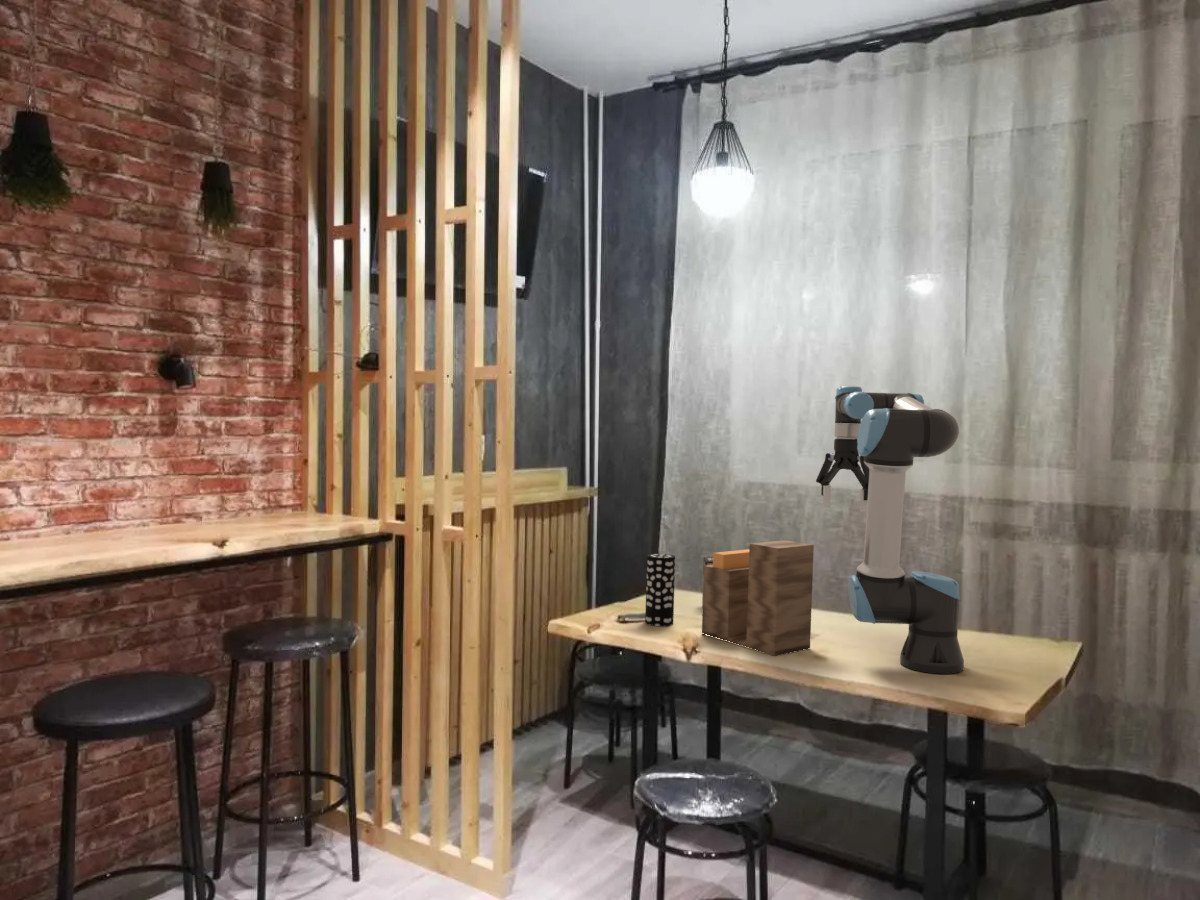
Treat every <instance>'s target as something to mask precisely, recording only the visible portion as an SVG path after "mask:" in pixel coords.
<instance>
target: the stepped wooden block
mask: <svg viewBox="0 0 1200 900" xmlns="http://www.w3.org/2000/svg"><path fill="white" fill-rule="evenodd" d="M814 547H815V546H814V544H811V543H804V542H799V541H793V540H787V539H782V540H772V541H771V540H770V541H762V542H760V541H759V542H753V543H752V542H751V543H749V548H748V549H749V566H747V567H738V568H730V569H719V568H715V567H713V565H706V566H704V580H703V579H702V596H703V606H702V618H701V619H702V621H701V622H702V623H701V634H702V633H704V634H707V635H710V636H713V637H717V638H720V639H723V640H727V641H730V642H733V643H736V644H739V645H743V646H746V647H749V648H752V649H756V650H758V651H757V652H759V651H761V652H760V653H762V652H764V653H763V654H766V653H767V654H766V655H769V654H770V656H772V655H773V657H776V656H777V657H778V656H783V655H787V654H790V652H792V653H795V652H794V651H797V652H800V651H799V650H802V651H804V650H803V649H806V650H809V649H808V648H810V649H811V630H812V607H813V606H812V605H813V603H812V602H813V601H812V600H813V576H814V575H813V573H814V572H813V571H814V570H813V569H814V551H815V548H814ZM739 645H738V646H739ZM746 647H745V648H746ZM749 648H748V649H749ZM752 649H751V650H752ZM756 650H755V651H756ZM786 653H787V654H786ZM782 654H783V655H782Z"/></svg>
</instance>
